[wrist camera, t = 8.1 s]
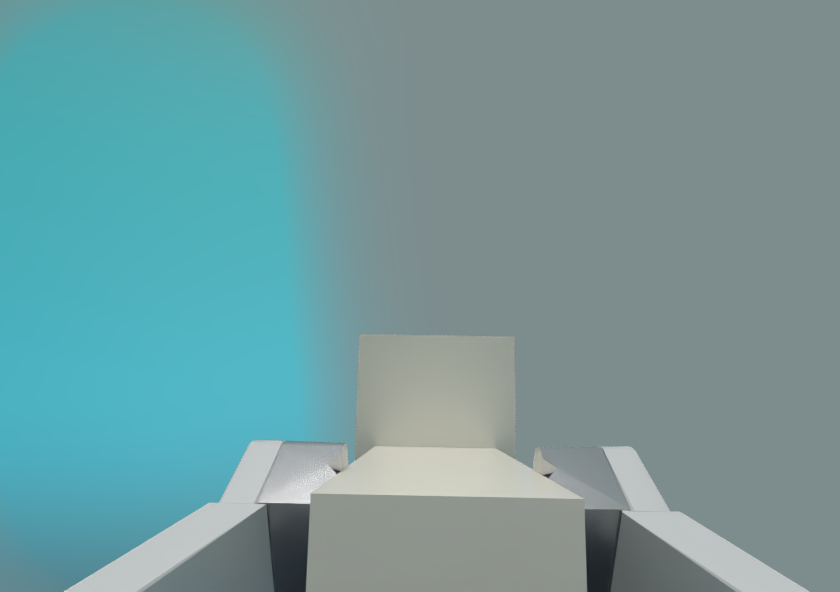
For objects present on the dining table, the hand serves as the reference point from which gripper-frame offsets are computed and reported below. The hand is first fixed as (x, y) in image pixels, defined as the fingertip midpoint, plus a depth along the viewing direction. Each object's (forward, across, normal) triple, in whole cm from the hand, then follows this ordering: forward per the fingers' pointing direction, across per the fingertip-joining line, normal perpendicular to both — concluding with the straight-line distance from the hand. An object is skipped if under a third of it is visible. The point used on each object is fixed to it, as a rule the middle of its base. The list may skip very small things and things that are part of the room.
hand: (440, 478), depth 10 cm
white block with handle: (+3, 0, -3) cm, 4 cm away
